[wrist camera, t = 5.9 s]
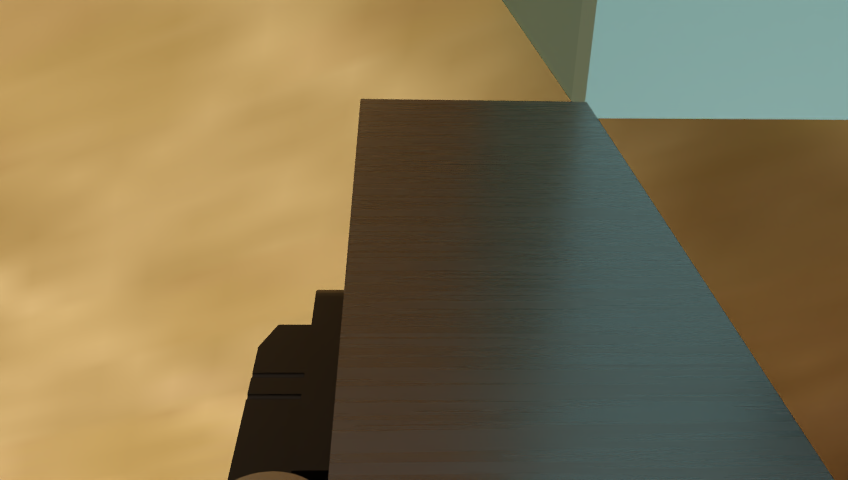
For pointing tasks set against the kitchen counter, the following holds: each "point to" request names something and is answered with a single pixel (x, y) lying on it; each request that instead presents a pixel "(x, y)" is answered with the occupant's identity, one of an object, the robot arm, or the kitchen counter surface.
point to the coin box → (695, 56)
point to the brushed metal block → (533, 314)
